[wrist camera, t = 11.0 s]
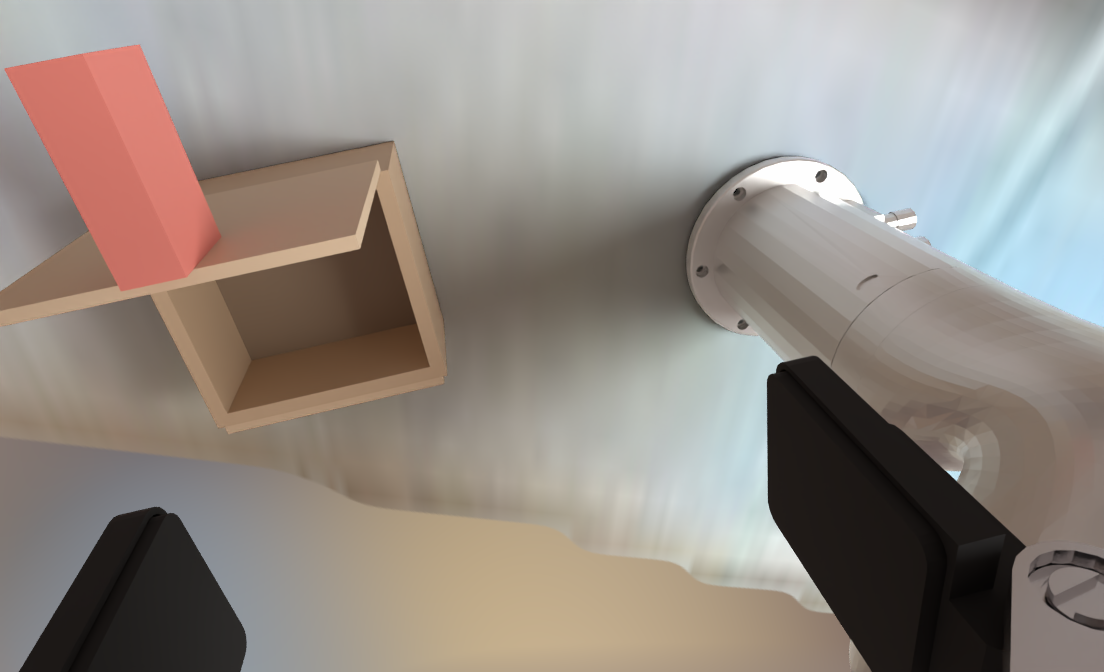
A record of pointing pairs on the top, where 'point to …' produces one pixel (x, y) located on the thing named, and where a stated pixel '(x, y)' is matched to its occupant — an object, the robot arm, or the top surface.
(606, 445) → the top surface
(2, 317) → the taped cardboard box
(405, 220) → the carton
